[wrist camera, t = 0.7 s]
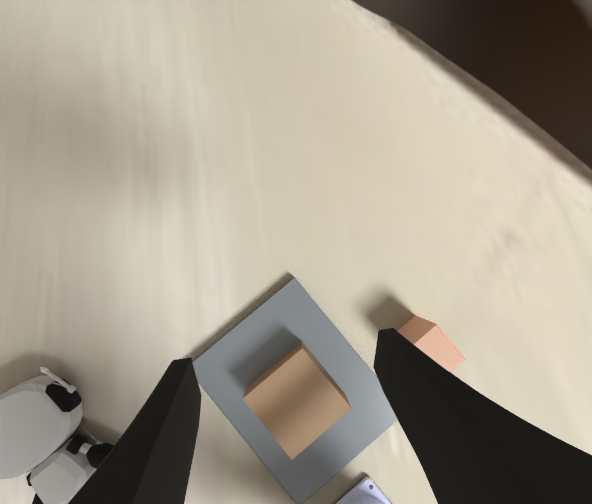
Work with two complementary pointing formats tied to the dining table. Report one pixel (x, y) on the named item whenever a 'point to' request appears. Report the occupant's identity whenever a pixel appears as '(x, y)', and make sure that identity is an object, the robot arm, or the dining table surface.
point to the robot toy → (46, 438)
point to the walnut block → (296, 399)
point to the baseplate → (266, 351)
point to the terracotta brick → (432, 342)
